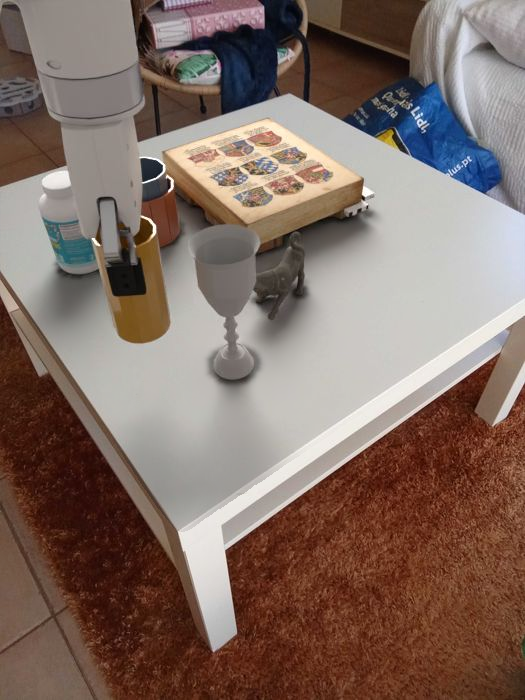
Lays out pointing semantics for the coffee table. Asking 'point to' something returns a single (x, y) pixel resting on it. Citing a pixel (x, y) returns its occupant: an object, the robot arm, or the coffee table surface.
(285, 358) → the coffee table surface
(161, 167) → the cup stack
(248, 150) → the book
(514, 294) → the coffee table surface
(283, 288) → the dog figurine
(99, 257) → the ochre cup
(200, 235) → the chalice
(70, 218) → the pill bottle
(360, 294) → the coffee table surface
